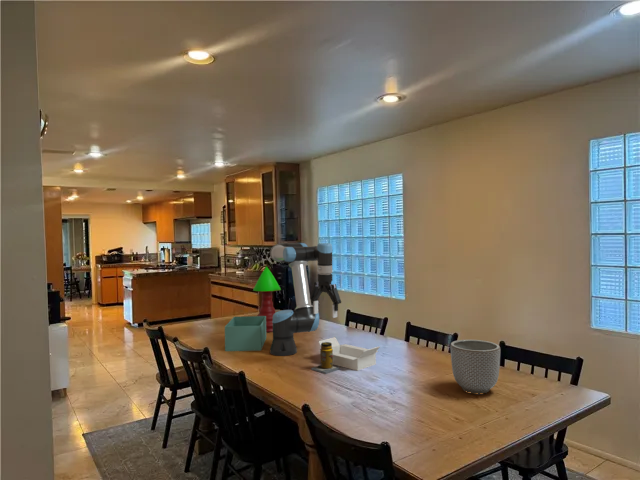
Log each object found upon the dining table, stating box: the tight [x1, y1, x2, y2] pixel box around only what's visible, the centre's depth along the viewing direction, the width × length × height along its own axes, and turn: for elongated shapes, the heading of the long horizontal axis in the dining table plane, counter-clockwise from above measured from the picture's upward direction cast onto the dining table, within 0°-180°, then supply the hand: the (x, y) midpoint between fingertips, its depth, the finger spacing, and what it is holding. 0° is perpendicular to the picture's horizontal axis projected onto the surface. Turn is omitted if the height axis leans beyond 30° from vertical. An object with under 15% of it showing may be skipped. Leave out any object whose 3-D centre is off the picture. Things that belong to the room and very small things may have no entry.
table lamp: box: [252, 266, 282, 333], centre depth 314 cm, size 20×20×45 cm
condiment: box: [314, 342, 337, 371], centre depth 218 cm, size 7×8×12 cm
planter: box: [449, 339, 501, 395], centre depth 185 cm, size 20×20×19 cm
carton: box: [317, 336, 381, 372], centre depth 229 cm, size 31×20×10 cm, turn 45°
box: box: [224, 315, 267, 352], centre depth 272 cm, size 21×32×14 cm, turn 1°
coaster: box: [310, 364, 341, 375], centre depth 218 cm, size 10×10×1 cm
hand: (325, 315), depth 225 cm, fingers open, 13 cm apart
